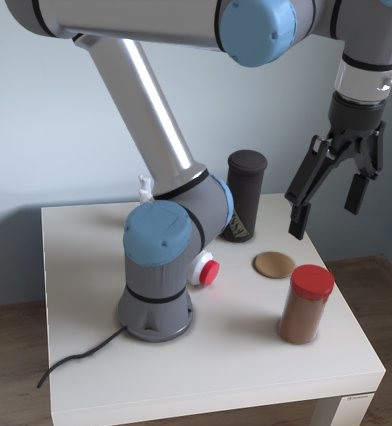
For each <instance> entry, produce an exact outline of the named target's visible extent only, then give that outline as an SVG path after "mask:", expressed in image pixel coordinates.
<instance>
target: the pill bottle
mask: <svg viewBox="0 0 392 426" xmlns="http://www.w3.org/2000/svg"><path fill="white" fill-rule="evenodd" d="M219 271H220V263H219V262H217V261H216V260H214V256H213V253H211V252H210V251H208V250H207V249H204V250H203V251H202V252H201V253H200V254H198V255H197V256H196V258H195V259H194V260H193V261H192V262H191V263H190V264H189V266H188V269H187V281H186V283H189V284H191V285H193V286H197V285H200V284H202V285H204V286H205V287H208V286H210V285H211V284H212V283H213V282H214V280H215V279H216V277H217V276H218V273H219Z"/></svg>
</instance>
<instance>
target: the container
mask: <svg viewBox="0 0 392 426" xmlns="http://www.w3.org/2000/svg"><path fill="white" fill-rule="evenodd" d="M268 163H269V162H268V159H267V158H266V156H265V155H264V154H263V153H262V152H259V151H257V150H253V149H238V150H235V151H234V152H232V153H231V154H229V156H228V157H227V165H228V169H227V176H226V181H225V183H226V185H227V186H228V188H229V190H230V192H231V194H232V198H233V214H232V217H231V220H230V222H229V223H228V224H227V226H226V227H225V229H224V230H223V232H222V233H221V234H220V235H219V236H221V237H222V238H223V239H225V240H227V241H229V242H233V243H244V242H248V241H250V240H251V239H252V238H253V237H254V235H255V229H256V223H257V218H258V217H257V215H258V210H259V205H260V198H261V193H262V186H263V180H264V176H265V171H266V170H267V167H268V165H269V164H268Z"/></svg>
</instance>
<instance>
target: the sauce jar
mask: <svg viewBox="0 0 392 426" xmlns="http://www.w3.org/2000/svg"><path fill="white" fill-rule="evenodd" d="M329 298H330V295H329V296H328V297H326V298H325V299H320V300H310V299H306V298H303V297H301V296H299V295H298V294H296V293H295V292H294V291H293V290H292V288H291V286H290V285H289V286H288V290H287V294H286V298H285V301H284V305H283V309H282V311H281V315H280V320H279V323H278V332H279V334H280V336H281V337H282V338H283V339H284V340H285V341H287V342H289V343H291V344H295V345H306V344H309V343H311V342H313V340H315V337H316V335H317V332H318V329H319V327H320V323H321V321H322V318H323V315H324V312H325V309H326V306H327V303H328V301H329Z"/></svg>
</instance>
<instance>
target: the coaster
mask: <svg viewBox="0 0 392 426" xmlns="http://www.w3.org/2000/svg"><path fill="white" fill-rule="evenodd" d="M254 265H255V267H256V270H257V271H258V273H260V274H261V275H263V276H265V277H267V278H271V279H276V280H277V279H286V278H289V277H291V275H292V272H293V270H294V269H295V268H296V266H295V263H294V260H292V258H290V257H289V256H288V255H286V254H284V253H282V252H279V251H266V252H261V253H260V254H258V255H257V256H256V258H255V262H254Z"/></svg>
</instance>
